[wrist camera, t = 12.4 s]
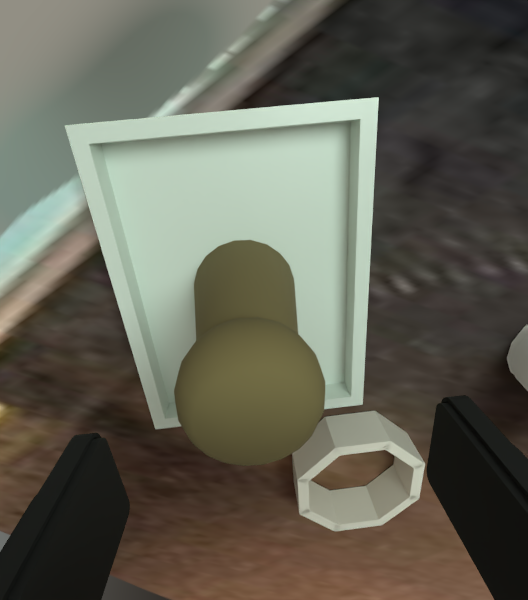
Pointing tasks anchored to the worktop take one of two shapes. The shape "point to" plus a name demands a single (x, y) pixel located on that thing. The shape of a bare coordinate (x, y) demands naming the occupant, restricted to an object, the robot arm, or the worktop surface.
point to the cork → (248, 360)
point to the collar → (366, 499)
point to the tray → (235, 224)
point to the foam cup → (519, 357)
